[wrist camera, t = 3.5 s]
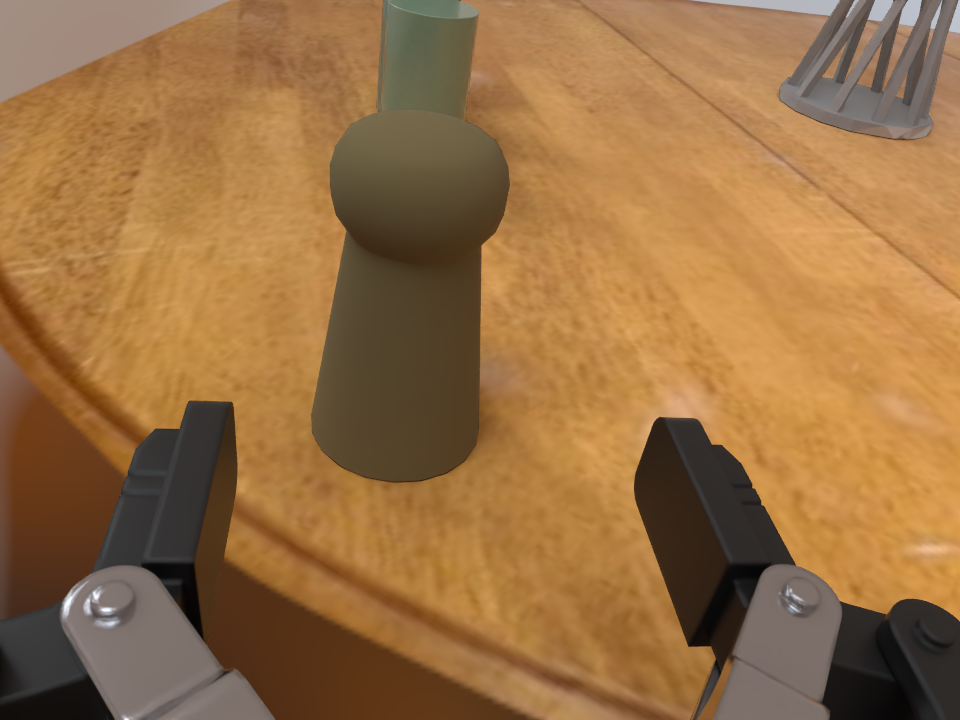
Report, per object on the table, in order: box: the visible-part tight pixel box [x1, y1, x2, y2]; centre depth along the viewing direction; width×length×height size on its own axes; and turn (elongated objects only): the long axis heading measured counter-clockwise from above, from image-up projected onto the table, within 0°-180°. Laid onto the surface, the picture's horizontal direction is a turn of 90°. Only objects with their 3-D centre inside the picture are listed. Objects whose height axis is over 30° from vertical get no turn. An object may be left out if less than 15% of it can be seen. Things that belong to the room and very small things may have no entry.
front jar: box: [380, 0, 479, 120], centre depth 45 cm, size 5×5×9 cm
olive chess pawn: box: [311, 110, 510, 482], centre depth 25 cm, size 6×6×11 cm
